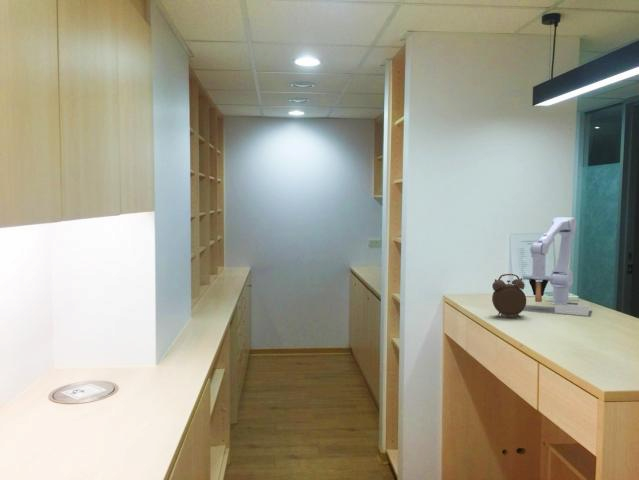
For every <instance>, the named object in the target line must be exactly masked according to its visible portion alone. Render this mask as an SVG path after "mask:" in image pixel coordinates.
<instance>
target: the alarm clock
mask: <svg viewBox="0 0 639 480" xmlns="http://www.w3.org/2000/svg"><path fill="white" fill-rule="evenodd" d="M505 276H513V277H514V276H515V277H516V278H517V279H516V278H515V279H514V280H512V281H511V280H506V282H507V283H505V281H503V280H502V277H505ZM510 282H511V284H509V283H510ZM525 285H526V284H525V283H524V281H523V277H522V278H520V277H519V276H518V275H517V274H514V273H503V274H502V275H500V276H499V278H497V279H496V278H495V279H494V281H493V283H492V289H493V292H492V296H491V300H492V304H493V306H494V308H495V310H496V311H497V312H498V314H497V317H499V316H500V317H499V318H502V317H503V316H506V317H515V316H517V317H518V318H520V314H521V313H522V312H524V311H523V310H524V308H525V306H526V305H527V296H526V293H524V289H525Z"/></svg>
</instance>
